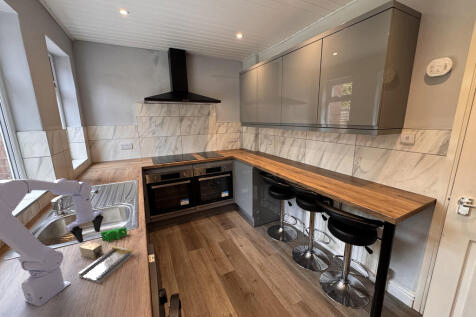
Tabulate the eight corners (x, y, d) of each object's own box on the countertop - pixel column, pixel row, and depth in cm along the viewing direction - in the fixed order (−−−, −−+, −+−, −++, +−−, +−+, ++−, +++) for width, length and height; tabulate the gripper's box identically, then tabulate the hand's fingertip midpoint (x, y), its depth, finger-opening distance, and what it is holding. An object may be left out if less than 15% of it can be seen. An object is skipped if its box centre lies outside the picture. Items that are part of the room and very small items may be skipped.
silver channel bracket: (99, 283, 72) (98, 277, 71) (78, 277, 75) (77, 271, 75) (133, 254, 87) (132, 249, 86) (114, 250, 90) (113, 245, 90)
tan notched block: (103, 253, 88) (101, 244, 87) (94, 259, 85) (92, 249, 84) (90, 250, 91) (88, 241, 90) (81, 256, 87) (79, 246, 86)
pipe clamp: (100, 243, 96) (99, 235, 95) (103, 239, 99) (101, 231, 98) (126, 238, 99) (124, 230, 98) (127, 234, 103) (126, 226, 102)
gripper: (72, 217, 75) (79, 248, 78) (106, 202, 89) (110, 228, 92) (59, 215, 77) (66, 245, 80) (94, 200, 91) (99, 226, 93)
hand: (89, 236), depth 86 cm, fingers open, 7 cm apart
